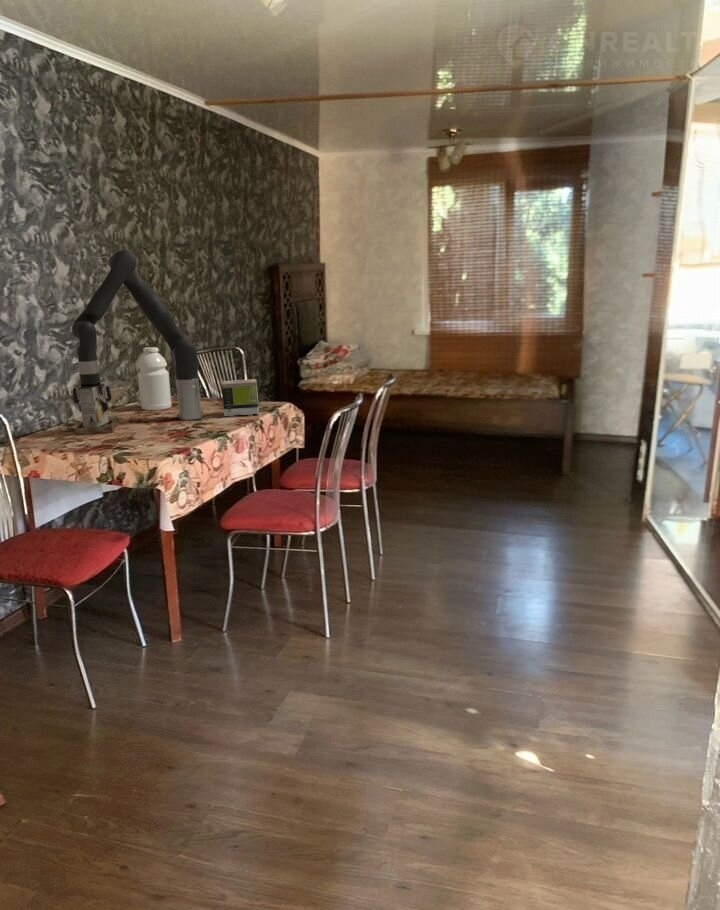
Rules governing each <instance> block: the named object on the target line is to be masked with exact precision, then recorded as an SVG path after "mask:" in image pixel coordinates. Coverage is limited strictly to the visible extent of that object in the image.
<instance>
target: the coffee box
mask: <svg viewBox="0 0 720 910" xmlns="http://www.w3.org/2000/svg"><path fill="white" fill-rule="evenodd" d="M101 385H102V386H105V384H104V383H101ZM77 388H78V391H79V393H78V399H79V400H80V405H81V411H80V413H81V418H82V422H83V426H84V427H99V426H101V425H103V424H106V423H108V422H109V420H110V419H109V413H108V410H107V411H106V412H104V407H103V403H104V402H103V401H102V400H101V399H100V398H99V393H100V392H99V386H84V387H81V386H79V387H77ZM100 395H103V396H104V397H105V398H107V397H106V396H107V395H106V391H105V390H104V389H102V391H101V393H100ZM80 405H79V406H80Z"/></svg>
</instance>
